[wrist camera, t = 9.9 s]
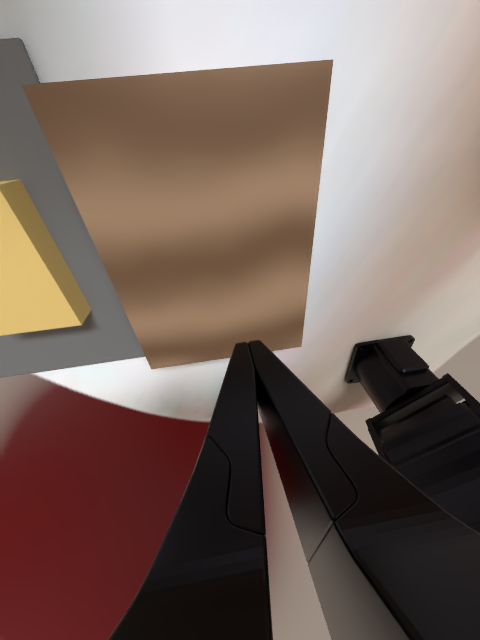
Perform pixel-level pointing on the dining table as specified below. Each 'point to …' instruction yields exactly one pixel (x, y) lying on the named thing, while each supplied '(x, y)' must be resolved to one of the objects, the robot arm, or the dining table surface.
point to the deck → (197, 197)
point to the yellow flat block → (33, 270)
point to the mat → (55, 239)
